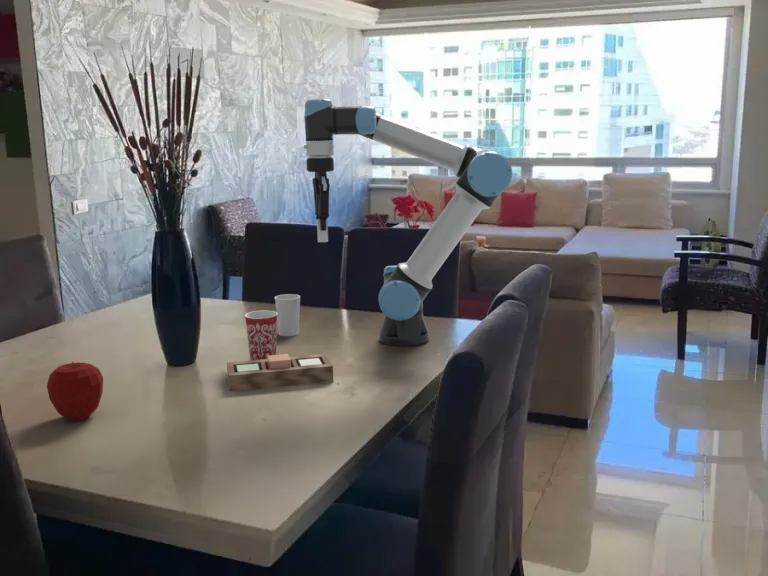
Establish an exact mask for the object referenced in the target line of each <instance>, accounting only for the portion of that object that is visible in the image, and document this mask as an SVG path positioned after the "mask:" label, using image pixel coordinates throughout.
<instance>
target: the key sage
mask: <svg viewBox="0 0 768 576" xmlns="http://www.w3.org/2000/svg"><path fill="white" fill-rule="evenodd" d="M257 370H259V366H258V364H247V365H237V372H246V371H257Z"/></svg>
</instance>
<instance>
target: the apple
mask: <svg viewBox="0 0 768 576" xmlns="http://www.w3.org/2000/svg"><path fill="white" fill-rule="evenodd" d="M47 380H48V381H47V383H46V389H47V394H48V398H49V401H50V403H51V404H52V405H53V407H54V409H55V410H56V411H57V413H58V414H59V415H60V416H61V417H63V418H65V419H66V420H68V421H70V422H79V421H83V420H85V419H87V418H89V417H90V416H91V415H92V414H93V413H95V411H96V410H97V409H98V408H99V405H100V402H101V399H102V395H103V388H104V377H103V375H102V372H101V371H100V369H99V367H97V366H95V365H93V364H91V363H88V362H74V361H72V362H71V363H66V364H62V365H59V366H57V367H56V368H55V369H54V370H53V371H52V372H51V373H50V374H49V377H48V379H47Z"/></svg>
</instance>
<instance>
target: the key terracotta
mask: <svg viewBox="0 0 768 576" xmlns="http://www.w3.org/2000/svg"><path fill="white" fill-rule="evenodd" d="M290 357H291V356H290V355H289V353H284V354H276V355H269V356H267V358H268V369H279V368H290V367H291V359H290Z"/></svg>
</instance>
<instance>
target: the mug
mask: <svg viewBox="0 0 768 576" xmlns="http://www.w3.org/2000/svg"><path fill="white" fill-rule="evenodd" d="M277 315H278V313H277V312H276V311H274V310H254V311H250V312H247V313H245V314H244V319H245V322H246V323H245V326H246V334H247V342H248V343H247V344H248V352H249V361H252V360H263V359H268V358H267V356H269V355H278V354H277V343H278V342H277V339H278V338H277V333H278V331H277V330H278V320H277Z"/></svg>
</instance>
